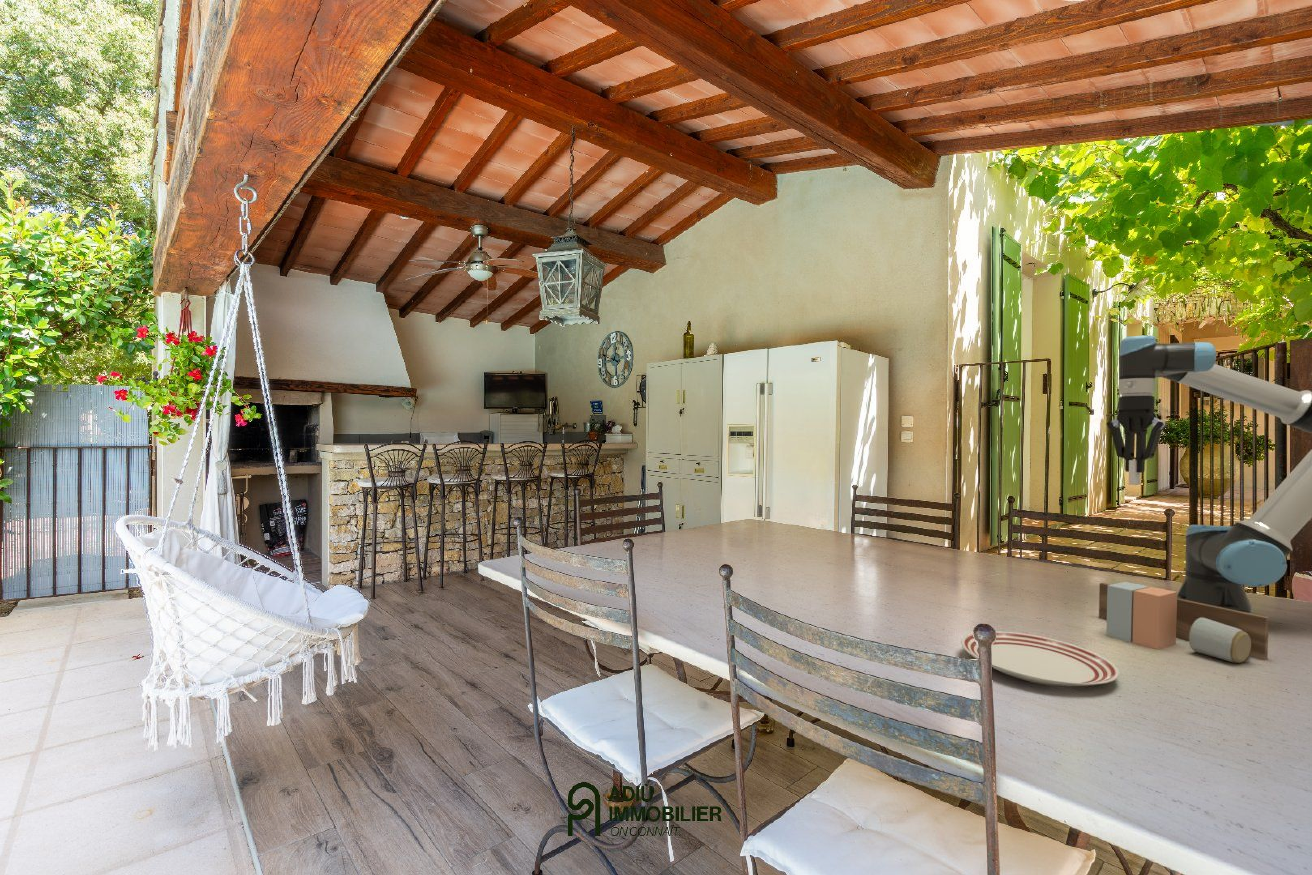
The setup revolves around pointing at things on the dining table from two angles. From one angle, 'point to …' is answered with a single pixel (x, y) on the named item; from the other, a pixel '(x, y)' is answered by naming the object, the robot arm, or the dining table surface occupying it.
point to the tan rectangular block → (1154, 617)
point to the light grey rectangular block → (1121, 610)
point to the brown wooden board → (1194, 610)
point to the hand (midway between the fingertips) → (1134, 484)
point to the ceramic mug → (1219, 640)
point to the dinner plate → (1045, 660)
